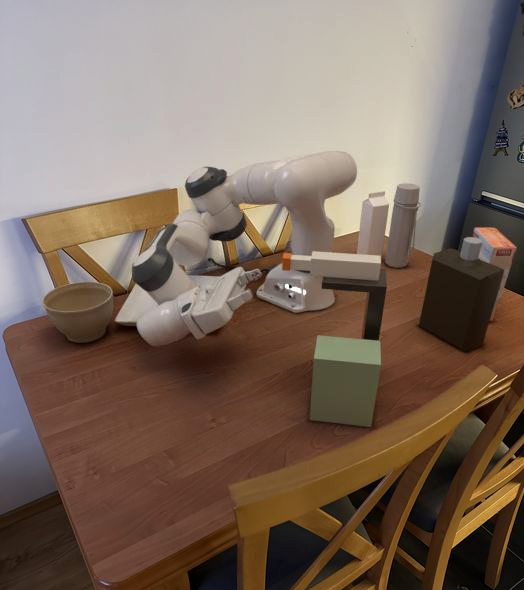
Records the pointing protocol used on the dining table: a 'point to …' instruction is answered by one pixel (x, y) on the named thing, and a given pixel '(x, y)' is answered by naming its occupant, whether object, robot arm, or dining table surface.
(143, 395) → the dining table surface
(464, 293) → the bottle
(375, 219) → the milk
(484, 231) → the cracker box
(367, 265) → the white bottle
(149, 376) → the dining table surface
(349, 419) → the green block
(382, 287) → the dark l-shaped bracket
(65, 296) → the planter bowl
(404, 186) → the water bottle
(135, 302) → the square plate
